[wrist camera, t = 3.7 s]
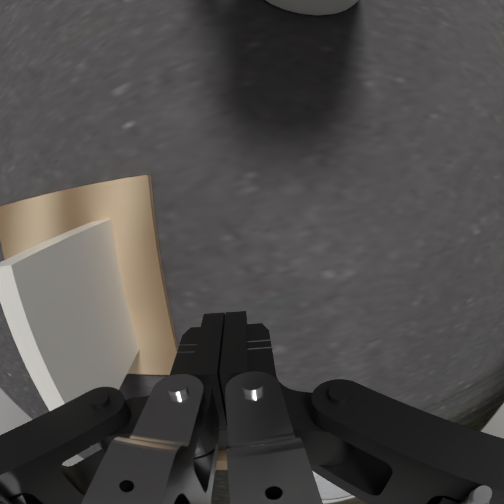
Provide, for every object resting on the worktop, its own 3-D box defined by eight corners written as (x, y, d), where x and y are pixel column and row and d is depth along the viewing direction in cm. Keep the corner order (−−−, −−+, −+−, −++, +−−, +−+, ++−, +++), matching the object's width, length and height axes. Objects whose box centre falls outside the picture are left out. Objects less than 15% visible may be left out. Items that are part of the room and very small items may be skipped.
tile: (110, 218, 14) (11, 265, 6) (139, 349, 16) (91, 447, 9) (90, 221, 14) (-12, 267, 6) (120, 348, 16) (67, 441, 9)
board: (150, 174, 14) (147, 174, 14) (183, 370, 17) (182, 375, 17) (-1, 207, 14) (-5, 208, 14) (42, 360, 17) (39, 363, 17)
